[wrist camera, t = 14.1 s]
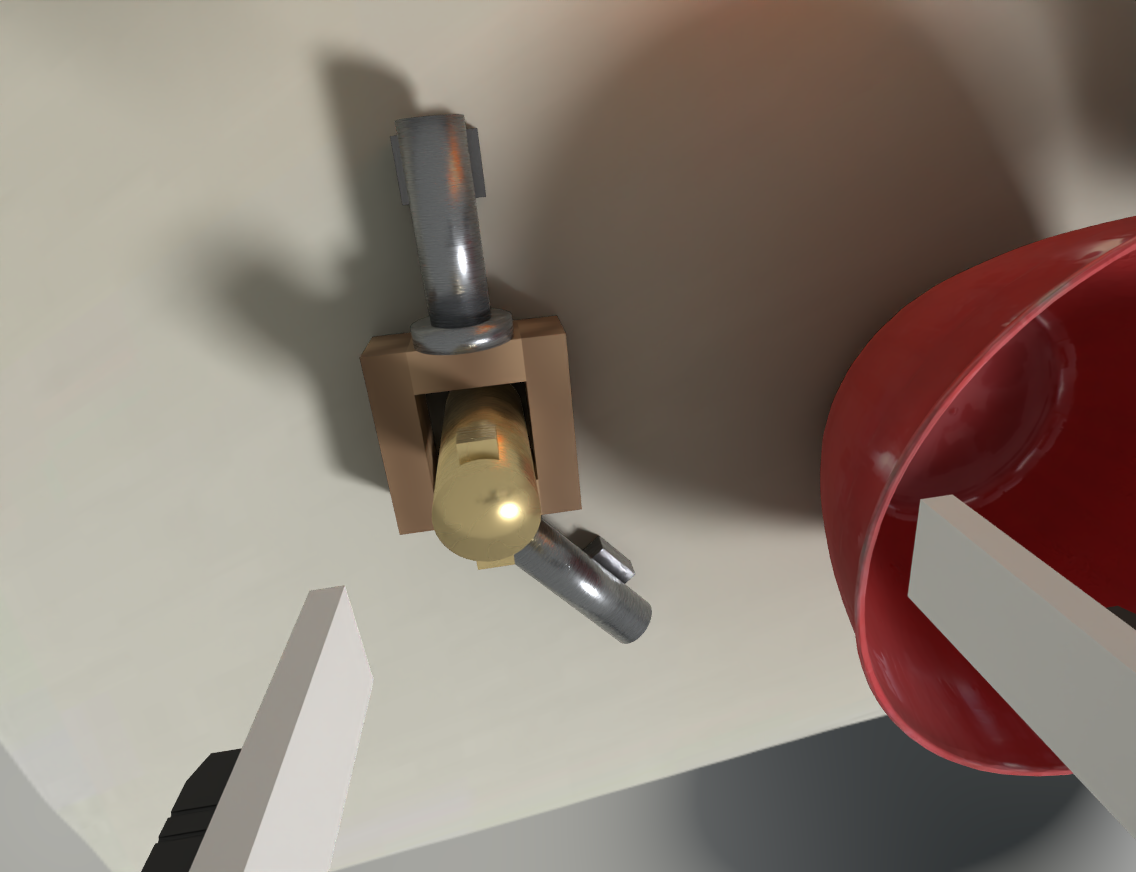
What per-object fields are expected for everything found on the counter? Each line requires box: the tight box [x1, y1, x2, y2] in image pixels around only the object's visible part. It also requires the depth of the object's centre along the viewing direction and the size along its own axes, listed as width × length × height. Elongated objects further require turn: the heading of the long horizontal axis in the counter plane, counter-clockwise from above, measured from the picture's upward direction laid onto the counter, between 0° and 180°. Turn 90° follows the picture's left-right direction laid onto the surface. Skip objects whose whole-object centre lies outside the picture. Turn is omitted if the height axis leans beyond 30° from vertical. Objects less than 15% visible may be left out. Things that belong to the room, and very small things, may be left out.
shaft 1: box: [390, 114, 514, 355], centre depth 30 cm, size 10×5×6 cm, turn 5°
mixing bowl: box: [820, 216, 1136, 776], centre depth 34 cm, size 28×28×16 cm
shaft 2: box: [514, 518, 652, 644], centre depth 39 cm, size 12×5×6 cm, turn 45°
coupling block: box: [360, 315, 582, 535], centre depth 35 cm, size 10×10×4 cm
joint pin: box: [432, 383, 541, 570], centre depth 31 cm, size 4×6×12 cm
